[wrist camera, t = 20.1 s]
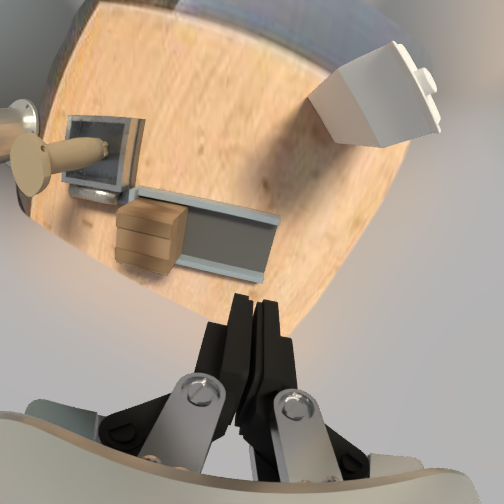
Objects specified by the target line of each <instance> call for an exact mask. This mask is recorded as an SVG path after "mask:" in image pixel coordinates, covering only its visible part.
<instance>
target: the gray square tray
mask: <svg viewBox="0 0 504 504" xmlns="http://www.w3.org/2000/svg"><path fill="white" fill-rule="evenodd" d="M145 120H146V119H137V118H126V117H111V116H87V115H69V116H68V122H67V128H66V136H65V140H69V139H73V138H81V137H90V138H100V139H101V140H102V141H105V142H107V143H108V148H107V151H108V155H107V157H105V158H103V159H102V161H100V162H98V163H95V164H93V165H91V166H88V167H85V168H82V169H78V170H72V171H66V172H62V181H61V182H65V183H70V186H69V195H70V196H71V197H76V198H81V199H86V200H91V201H96V202H101V203H106V204H111V205H117V204H123V205H126V204H127V203H128V201H129V191H130V189H132V188H134V187H135V182H136V174H137V167H138V160H139V153H140V147H141V141H142V136H143V130H144V125H145Z"/></svg>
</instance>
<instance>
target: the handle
mask: <svg viewBox="0 0 504 504" xmlns="http://www.w3.org/2000/svg"><path fill="white" fill-rule="evenodd" d="M107 148H108V143H107V142H105V141H102V140H101V139H100V138H90V137H81V138H73V139H69V140H64V141H60V142H55V143H50V144H45V143H44V141H43V140H42V139H41V138H39V137H38V136H37V135H36V134H34V133H32V132H31V133H23V134H21V135H20V136H18V137H17V139H16V140H15V141H14V143H13V145H12V148H11V151H10V162H11V169H12V173H13V176H14V178H15V181H16V183H17V185H18V187H19V188H20V189H21V191H22V192H23V193H25V194H26V195H27V196H28V197H31V196H34V195H36V194H39V193H40V192H42V191H43V190H44V189H45V188H46V187H47V185H48V183H49V181H50V178H51V174H55V173H60V172H66V171H72V170H78V169H82V168H85V167H88V166H91V165H93V164H95V163H98V162H100V161H102V159H103V158H105V157H107V155H108V151H107Z"/></svg>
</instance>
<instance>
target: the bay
mask: <svg viewBox="0 0 504 504" xmlns="http://www.w3.org/2000/svg"><path fill="white" fill-rule="evenodd" d="M140 196H145V197H150V198H155V199H160V200H165V201H170V202H175V203H180V204H185V205H189V209H188V215H187V221H186V228H185V234H184V241H183V248H182V253H181V255H180V256H179V258H178V259H177V261H176V262H175V264H179V265H183V266H188V267H192V268H196V269H200V270H204V271H209V272H213V273H217V274H222V275H226V276H230V277H235V278H239V279H244V280H248V281H253V282H257V283H262V284H263V280H264V271H265V268H266V264H267V261H268V257H269V254H270V250H271V246H272V243H273V239H274V236H275V232H276V228H277V225H278V226H279V224H280V220H281V219H280V216H279V215H275V214H271V213H266V212H262V211H258V210H254V209H249V208H245V207H241V206H236V205H232V204H227V203H223V202H218V201H214V200H209V199H205V198H200V197H195V196H190V195H185V194H180V193H175V192H170V191H165V190H160V189H155V188H150V187H144V186H137V187H134V188H132V189H130V191H129V201H128V203H129V202H131V201H133V200H135V199H136V198H138V197H140Z"/></svg>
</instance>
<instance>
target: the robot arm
mask: <svg viewBox="0 0 504 504" xmlns="http://www.w3.org/2000/svg"><path fill="white" fill-rule="evenodd" d="M31 132H32V133H34V134H36V135H37V136H38V135H39V117H38V112H37V110H36V107H35V106H34V104H33V103H32V102H31V101H29V100H26V99H21V100H17V101H15V102H14V103H12V104H11V106H9V108H5V109H0V163H5V164H6V165H7V166H9V167H11V162H10V151H11V148H12V145H13V143H14V141H15V140H16V139H17V137H18V136H20V135H21V134H23V133H31ZM235 412H236V415H235ZM234 415H235V426H237V427H240V431H239V435H243V438H244V439H245V440H246V441H247V442H248V443H249V444H250V445H249V453H250V460H251V468H252V476H253V481H249V480H239V479H231V478H224V477H217V476H211V475H205V474H201V471H202V469H203V466H204V463H205V460H206V457H207V455H208V452H209V449H210V446H211V443H212V442H213V441H215V440H216V439H218V438H220V437H222V436H224V435H225V432H226V430H227V427H228V425H231V422H232V420H233V417H234ZM0 504H481V502H480V499H479V496H478V494H477V491H476V489H475V487H474V485H473V483H472V481H471V480H470V478H469V477H468V476H466V475H465V474H464V473H462V472H459V471H456V470H452V469H444V468H428V469H424V467H423V464H422V463H421V461H419V460H418V459H416V458H413V457H403V456H390V455H380V454H372V453H371V454H370V455H368V456H367V455H365V454H364V453H363V452H362V451H361V450H359V449H358V448H357V447H355V446H354V445H352V444H351V443H350V442H348V441H347V440H346V439H344V438H343V437H342V436H340V435H339V434H338V433H336V432H335V431H334V430H332V429H331V428H330V427H328V426H327V425H326V424H325V423H324V421H323V417H322V414H321V412H320V408H319V406H318V404H317V402H316V400H315V399H314V398H313V397H312V396H311V395H309V394H308V393H307V392H304V391H302V390H298V388H297V379H296V370H295V361H294V353H293V344H292V339H291V338H287V337H282V336H280V323H279V310H278V302H275V301H270V300H265V299H264V300H263V301H262V303H261V302H257V304H256V307H255V311H254V314H253V301H252V300H249V296H246V295H242V294H237V293H235V294H234V298H233V302H232V306H231V311H230V315H229V319H228V323H227V326H226V325H222V324H217V323H213V322H208V323H207V327H206V331H205V334H204V338H203V342H202V345H201V349H200V352H199V356H198V360H197V364H196V367H195V371H194V373H191V374H187V375H185V376H183V377H182V378H181V379H180V380H179V381H178V382H177V384H176V386H175V388H174V390H173V391H172V393H170V394H167V395H164V396H162V397H159V398H156V399H154V400H151V401H148V402H146V403H143V404H140V405H137V406H134V407H131V408H128V409H125V410H122V411H119V412H116V413H113V414H111V415H109V416H101V415H98V414H97V412H94V411H89V410H84V409H80V408H75V407H71V406H67V405H63V404H60V403H56V402H52V401H49V400H44V399H38V400H34V401H33V402H31V403H30V404H29V405H28V407H27V409H26V411H25V414H22V413H16V412H10V411H9V412H8V411H0Z"/></svg>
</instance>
